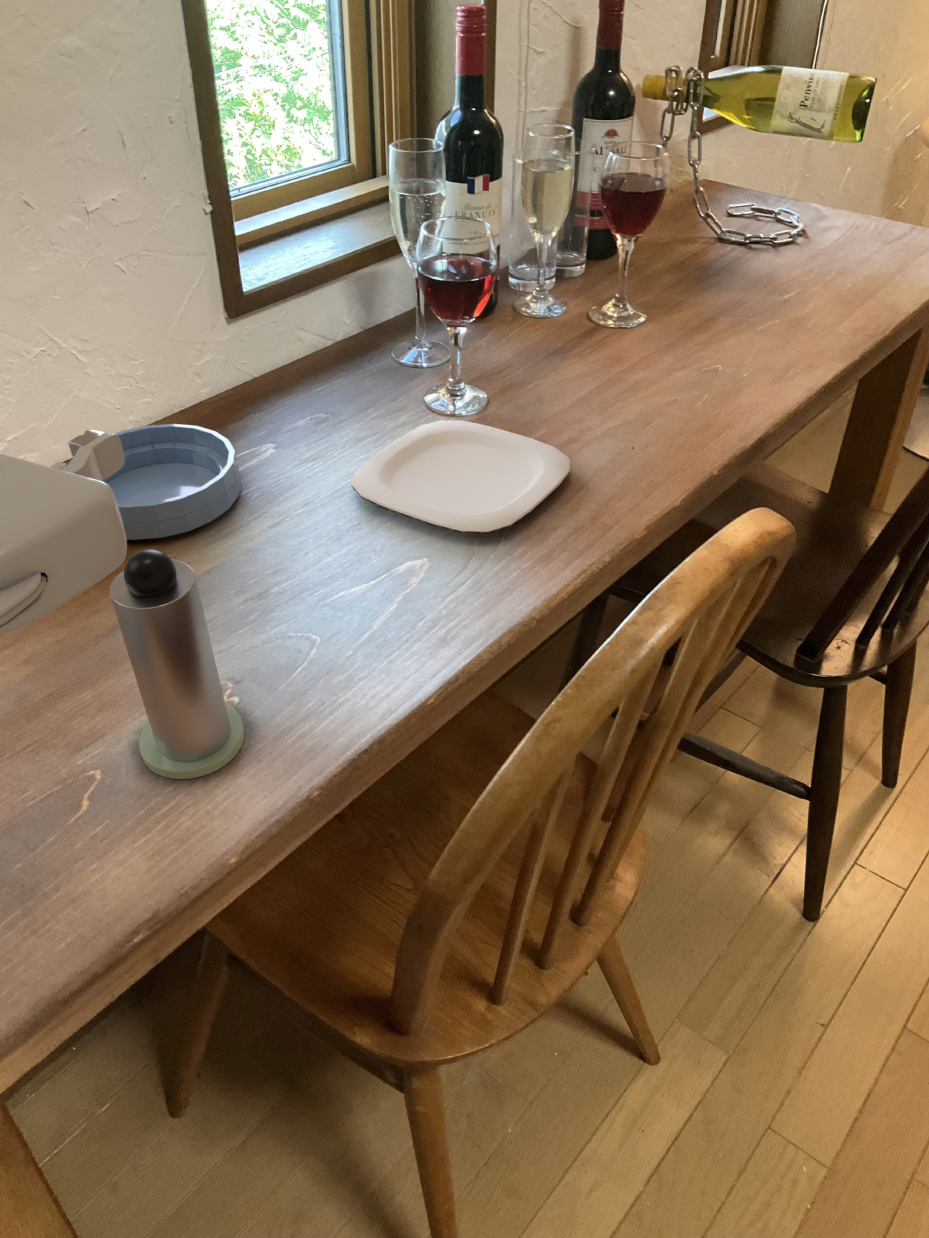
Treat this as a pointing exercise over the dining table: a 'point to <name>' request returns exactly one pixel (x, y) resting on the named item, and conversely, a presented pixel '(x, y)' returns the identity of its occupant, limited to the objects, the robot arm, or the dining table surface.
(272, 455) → the dining table surface
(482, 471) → the plate
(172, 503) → the bowl
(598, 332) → the dining table surface
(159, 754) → the coaster
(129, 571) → the pepper mill
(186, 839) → the dining table surface
